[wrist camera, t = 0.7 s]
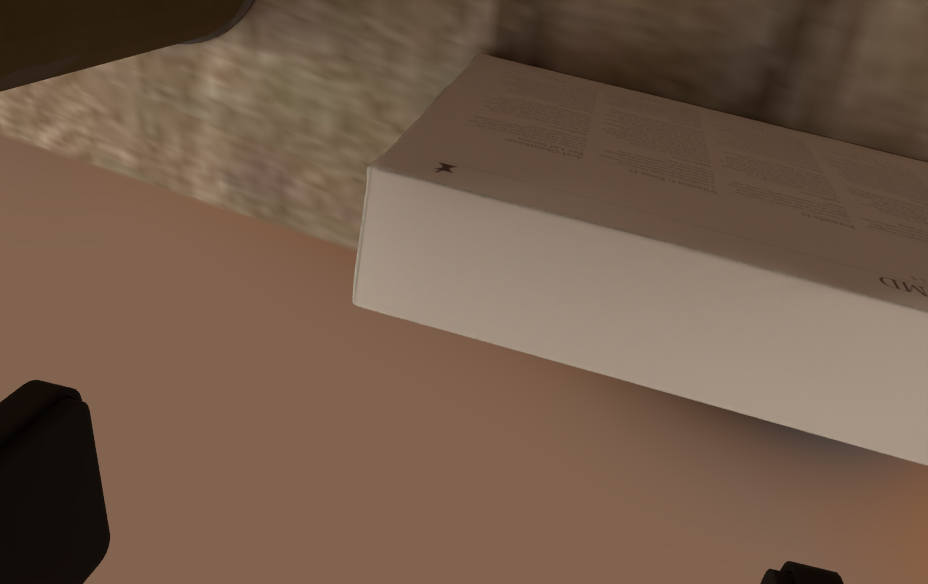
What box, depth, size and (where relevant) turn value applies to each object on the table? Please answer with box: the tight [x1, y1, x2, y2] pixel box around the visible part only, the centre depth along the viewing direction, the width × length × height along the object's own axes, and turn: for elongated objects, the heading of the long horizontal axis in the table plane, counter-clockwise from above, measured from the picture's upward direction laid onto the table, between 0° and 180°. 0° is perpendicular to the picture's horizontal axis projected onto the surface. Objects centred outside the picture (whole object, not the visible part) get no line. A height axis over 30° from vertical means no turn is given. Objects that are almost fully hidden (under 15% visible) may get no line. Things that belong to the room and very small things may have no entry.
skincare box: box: [352, 54, 928, 465], centre depth 28 cm, size 21×5×16 cm, turn 79°
